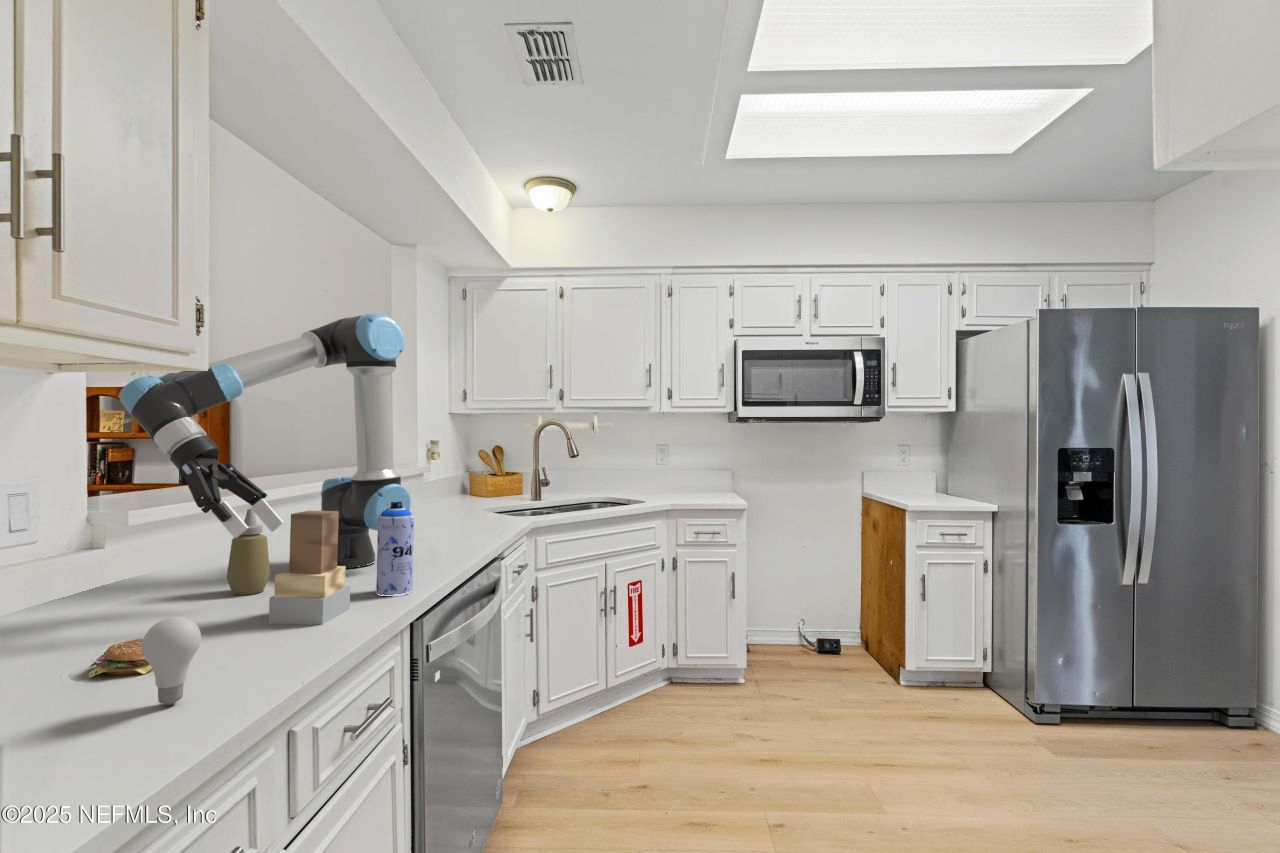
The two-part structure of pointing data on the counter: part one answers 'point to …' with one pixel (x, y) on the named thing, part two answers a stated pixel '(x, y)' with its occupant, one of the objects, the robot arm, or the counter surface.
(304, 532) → the walnut block
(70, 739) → the counter surface
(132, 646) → the hamburger
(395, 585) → the aerosol can
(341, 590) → the grey slab
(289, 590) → the beech slab
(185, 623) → the lightbulb
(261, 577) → the squeeze bottle
